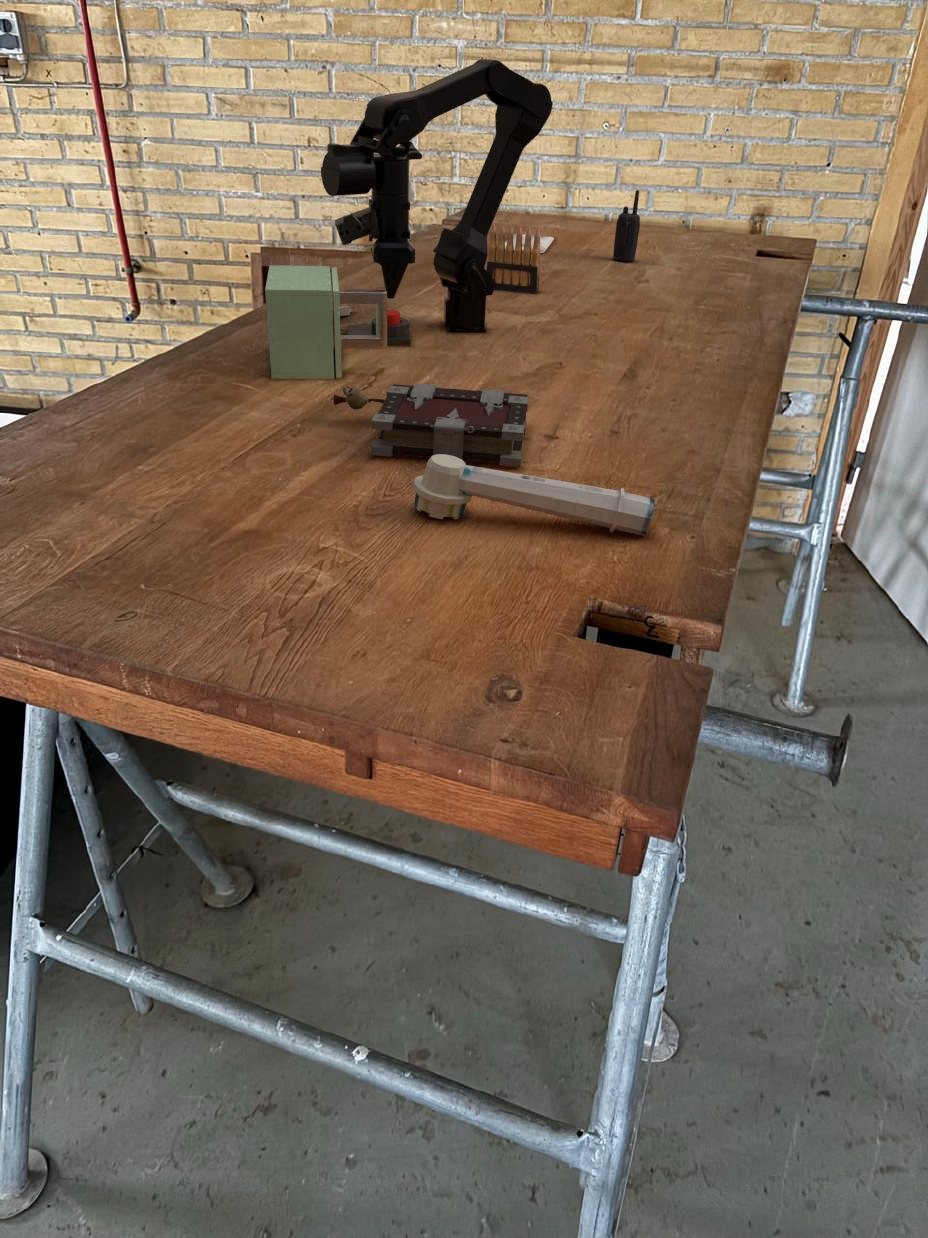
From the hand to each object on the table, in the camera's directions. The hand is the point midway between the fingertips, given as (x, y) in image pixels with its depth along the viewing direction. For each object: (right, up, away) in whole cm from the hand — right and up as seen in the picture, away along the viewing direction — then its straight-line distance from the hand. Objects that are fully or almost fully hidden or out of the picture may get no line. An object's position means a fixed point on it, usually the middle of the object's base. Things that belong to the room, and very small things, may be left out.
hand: (390, 297), depth 147 cm
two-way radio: (+48, +30, +63) cm, 85 cm away
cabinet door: (-4, -13, -8) cm, 15 cm away
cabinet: (-13, -13, -9) cm, 20 cm away
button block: (-2, -6, +3) cm, 7 cm away
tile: (+30, +33, +65) cm, 79 cm away
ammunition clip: (+21, +14, +35) cm, 44 cm away
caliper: (-11, -2, +8) cm, 14 cm away
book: (+7, -29, -32) cm, 44 cm away
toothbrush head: (+19, -42, -49) cm, 67 cm away
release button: (0, -3, +2) cm, 4 cm away
